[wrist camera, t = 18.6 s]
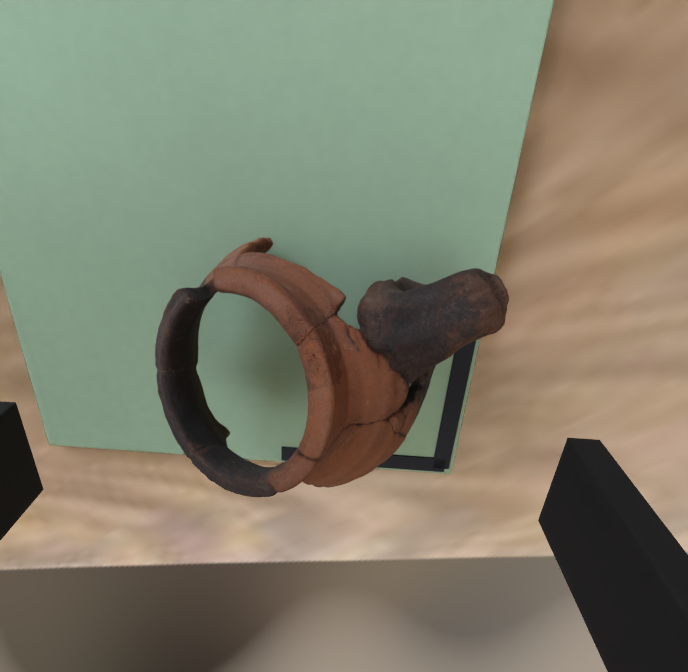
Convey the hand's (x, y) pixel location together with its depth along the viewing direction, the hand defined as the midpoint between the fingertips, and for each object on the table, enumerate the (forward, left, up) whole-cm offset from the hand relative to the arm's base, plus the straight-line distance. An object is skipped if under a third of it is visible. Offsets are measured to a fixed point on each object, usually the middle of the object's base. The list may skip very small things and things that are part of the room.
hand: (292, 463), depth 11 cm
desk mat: (-3, +3, -9) cm, 10 cm away
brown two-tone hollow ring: (+1, 0, -9) cm, 9 cm away
